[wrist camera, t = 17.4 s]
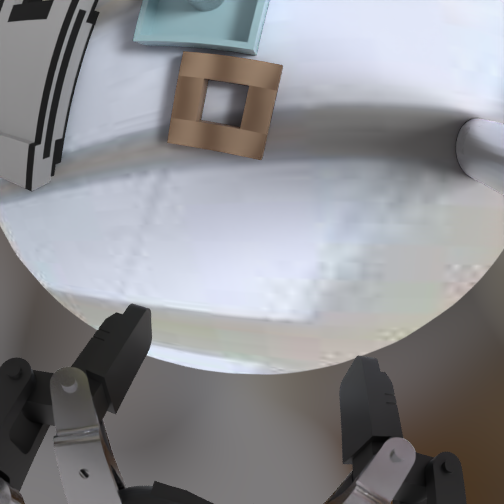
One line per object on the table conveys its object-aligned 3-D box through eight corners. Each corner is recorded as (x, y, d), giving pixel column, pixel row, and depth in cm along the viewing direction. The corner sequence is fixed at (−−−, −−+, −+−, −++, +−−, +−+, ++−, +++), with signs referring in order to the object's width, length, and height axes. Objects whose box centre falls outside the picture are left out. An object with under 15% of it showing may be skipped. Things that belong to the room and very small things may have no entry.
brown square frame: (282, 67, 32) (282, 65, 30) (262, 156, 38) (261, 160, 36) (189, 54, 32) (183, 51, 30) (173, 140, 38) (167, 142, 36)
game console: (116, -15, 27) (87, -30, 20) (63, 175, 42) (31, 191, 35) (31, -9, 26) (1, -15, 18) (-6, 150, 40) (-36, 161, 33)
